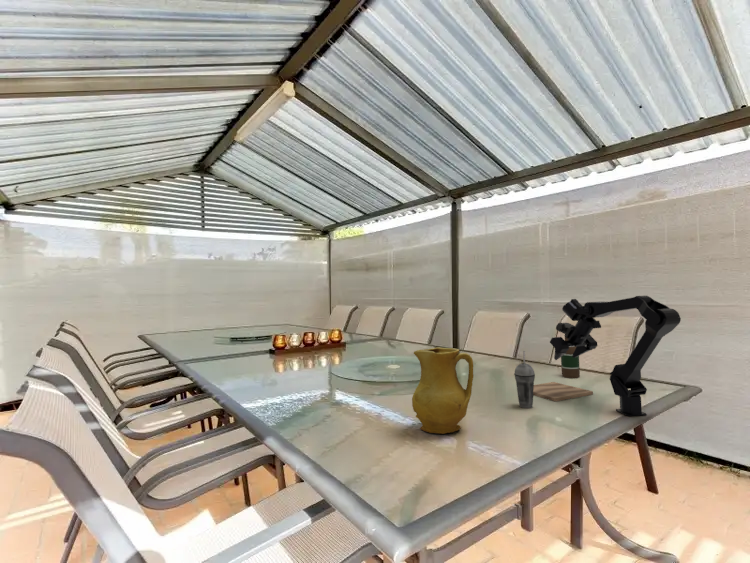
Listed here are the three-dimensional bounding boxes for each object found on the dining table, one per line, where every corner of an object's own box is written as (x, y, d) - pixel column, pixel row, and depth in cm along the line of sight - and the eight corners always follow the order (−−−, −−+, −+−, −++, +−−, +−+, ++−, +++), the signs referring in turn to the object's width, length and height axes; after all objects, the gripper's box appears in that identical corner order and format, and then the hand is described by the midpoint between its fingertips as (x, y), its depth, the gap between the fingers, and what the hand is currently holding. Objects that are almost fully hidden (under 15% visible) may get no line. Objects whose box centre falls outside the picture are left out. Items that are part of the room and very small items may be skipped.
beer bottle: (558, 376, 199) (555, 325, 199) (569, 374, 202) (567, 324, 203) (572, 379, 192) (569, 327, 192) (583, 377, 195) (581, 325, 196)
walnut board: (593, 394, 165) (592, 391, 165) (555, 401, 157) (555, 398, 157) (553, 384, 183) (553, 381, 183) (517, 390, 175) (517, 387, 175)
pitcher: (431, 417, 144) (428, 344, 144) (481, 426, 132) (478, 347, 132) (402, 431, 130) (398, 351, 131) (455, 443, 118) (451, 355, 119)
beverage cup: (513, 408, 150) (511, 352, 151) (517, 402, 157) (514, 349, 157) (535, 410, 147) (532, 353, 147) (537, 404, 153) (535, 350, 154)
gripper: (587, 313, 167) (569, 342, 176) (550, 316, 160) (533, 345, 169) (606, 333, 158) (587, 361, 167) (568, 336, 152) (550, 366, 161)
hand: (564, 358), depth 166 cm, fingers open, 9 cm apart
